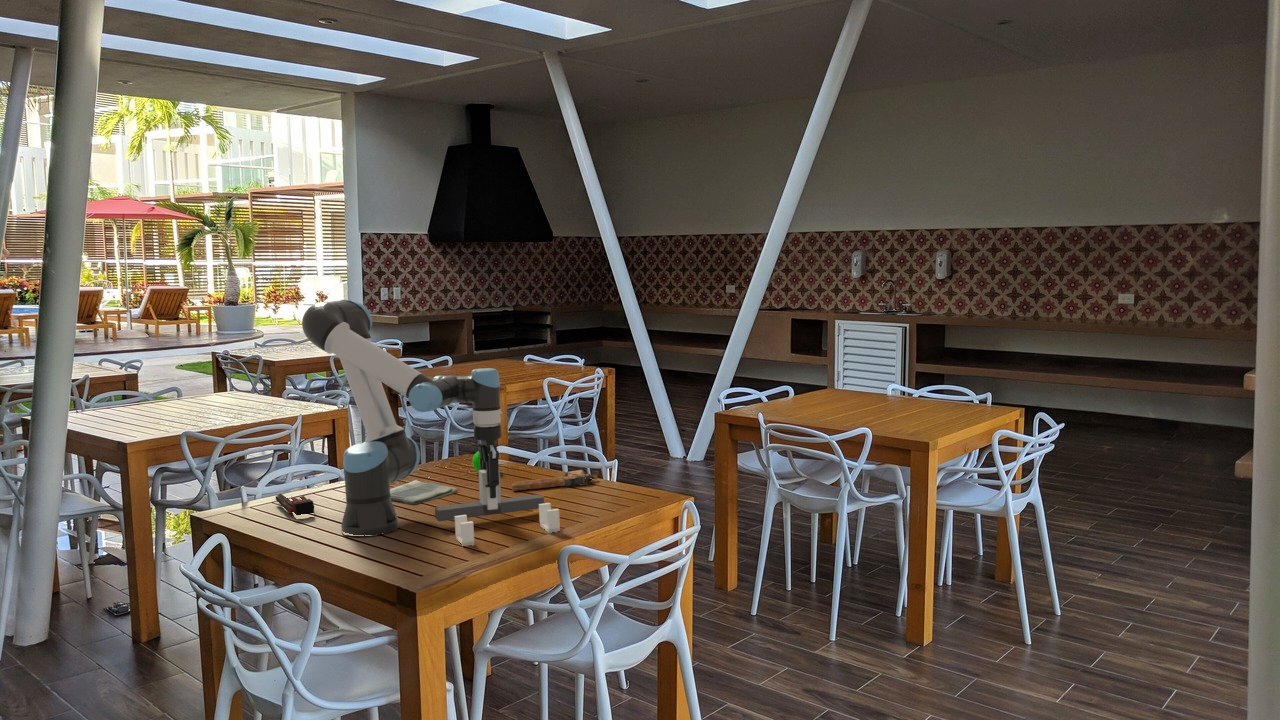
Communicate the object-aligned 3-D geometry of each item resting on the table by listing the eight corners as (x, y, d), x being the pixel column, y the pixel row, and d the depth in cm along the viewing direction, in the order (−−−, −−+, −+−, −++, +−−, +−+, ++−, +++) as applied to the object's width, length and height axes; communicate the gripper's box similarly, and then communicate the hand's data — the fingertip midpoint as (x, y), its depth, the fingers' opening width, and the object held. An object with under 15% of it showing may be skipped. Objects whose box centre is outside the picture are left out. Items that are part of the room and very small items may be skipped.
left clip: (462, 546, 237) (461, 523, 236) (455, 538, 245) (454, 516, 244) (474, 545, 238) (473, 522, 237) (467, 536, 246) (465, 514, 245)
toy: (271, 506, 294) (292, 521, 268) (270, 491, 293) (291, 504, 268) (299, 502, 298) (322, 516, 273) (297, 486, 298) (321, 499, 272)
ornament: (500, 470, 324) (499, 442, 323) (490, 476, 316) (488, 447, 315) (479, 470, 326) (478, 442, 325) (468, 475, 319) (467, 446, 318)
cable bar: (438, 521, 253) (436, 478, 251) (435, 517, 256) (433, 475, 255) (544, 507, 264) (542, 466, 263) (540, 504, 268) (538, 463, 267)
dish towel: (413, 507, 281) (413, 496, 281) (376, 499, 292) (376, 489, 291) (460, 493, 296) (459, 483, 295) (423, 487, 306) (422, 477, 306)
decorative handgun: (507, 476, 306) (512, 484, 292) (591, 467, 313) (600, 474, 299) (508, 486, 306) (513, 494, 292) (591, 476, 313) (601, 484, 299)
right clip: (549, 533, 246) (548, 511, 245) (539, 525, 254) (538, 504, 253) (560, 531, 247) (559, 509, 246) (550, 524, 255) (549, 502, 254)
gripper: (508, 428, 251) (511, 512, 254) (492, 418, 267) (495, 498, 269) (481, 430, 248) (484, 516, 251) (466, 420, 264) (470, 501, 266)
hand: (490, 506), depth 260 cm, fingers closed on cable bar, 4 cm apart
